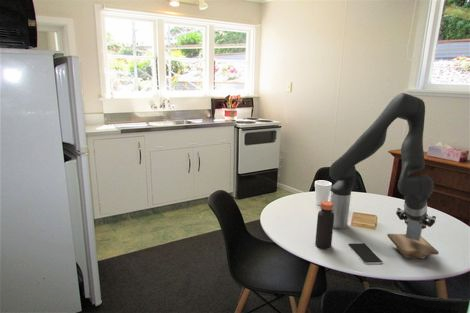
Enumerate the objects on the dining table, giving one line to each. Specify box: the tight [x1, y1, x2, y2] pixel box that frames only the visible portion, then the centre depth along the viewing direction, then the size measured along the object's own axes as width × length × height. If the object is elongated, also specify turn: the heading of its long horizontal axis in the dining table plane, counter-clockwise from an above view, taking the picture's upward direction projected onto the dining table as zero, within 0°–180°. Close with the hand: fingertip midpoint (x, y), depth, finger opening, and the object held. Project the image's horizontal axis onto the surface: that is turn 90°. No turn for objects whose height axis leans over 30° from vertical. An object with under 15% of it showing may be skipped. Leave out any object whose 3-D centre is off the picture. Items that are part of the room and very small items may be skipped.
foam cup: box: [314, 179, 333, 207], centre depth 180 cm, size 10×9×13 cm
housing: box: [405, 220, 423, 241], centre depth 128 cm, size 5×5×10 cm
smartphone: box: [347, 242, 383, 265], centre depth 129 cm, size 8×1×15 cm
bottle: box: [314, 200, 334, 250], centre depth 133 cm, size 7×7×20 cm
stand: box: [387, 233, 440, 259], centre depth 130 cm, size 14×14×5 cm
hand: (415, 224), depth 129 cm, fingers closed on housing, 5 cm apart
